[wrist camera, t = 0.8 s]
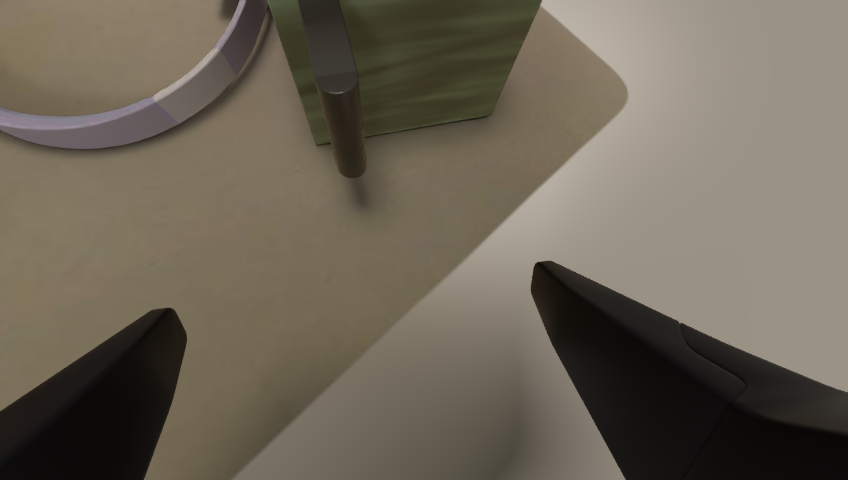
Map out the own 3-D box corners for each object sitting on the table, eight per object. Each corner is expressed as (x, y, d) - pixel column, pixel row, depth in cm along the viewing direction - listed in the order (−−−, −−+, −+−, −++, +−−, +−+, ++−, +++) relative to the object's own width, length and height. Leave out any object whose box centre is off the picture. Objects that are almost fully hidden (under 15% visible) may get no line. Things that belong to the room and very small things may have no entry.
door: (513, 178, 27) (637, 11, 13) (330, 215, 24) (267, 60, 11) (487, 106, 28) (577, -107, 15) (314, 135, 26) (241, -83, 13)
